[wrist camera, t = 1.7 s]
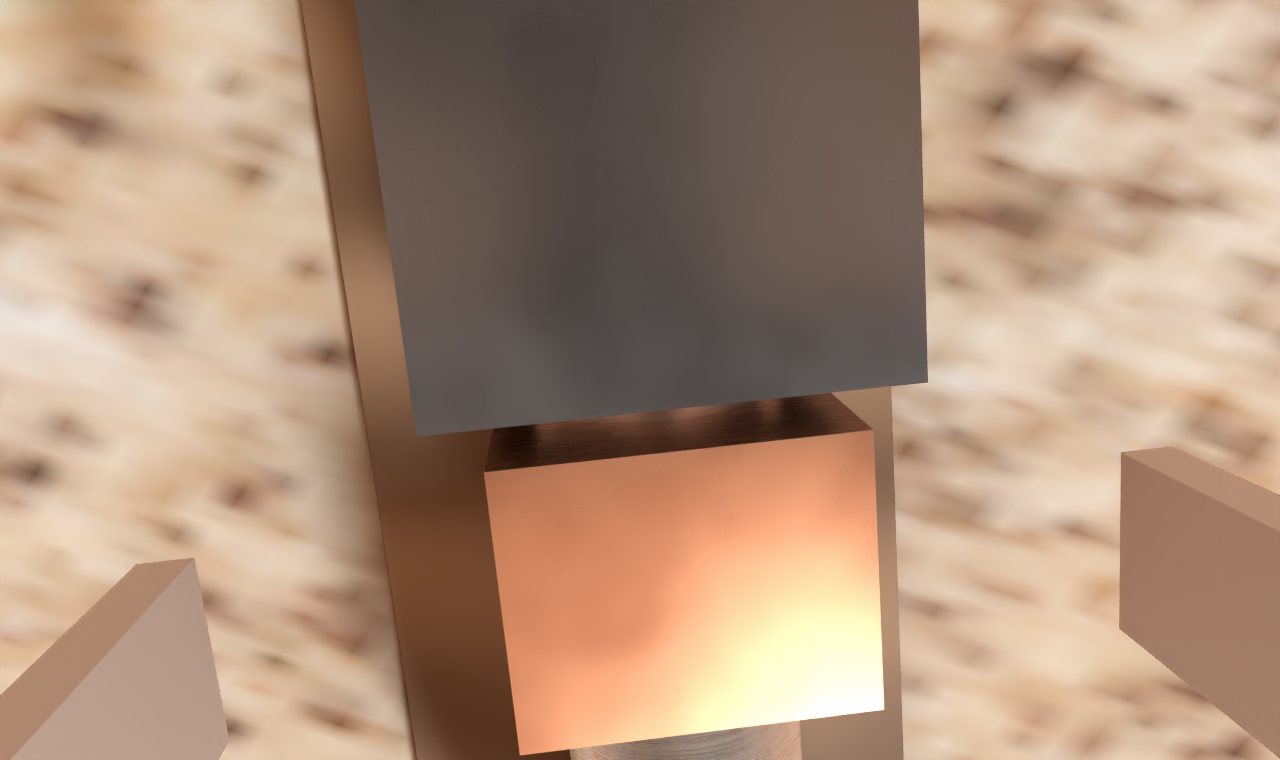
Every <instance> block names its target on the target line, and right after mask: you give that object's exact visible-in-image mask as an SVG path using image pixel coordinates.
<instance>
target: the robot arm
mask: <svg viewBox="0 0 1280 760" xmlns="http://www.w3.org/2000/svg"><path fill="white" fill-rule="evenodd" d="M1119 629H1121V630H1122V631H1123V632H1124V633H1125V634H1127V635H1128V636H1129V637H1130V638H1132V639H1133V640H1134V641H1135V642H1137V643H1138V644H1139V645H1140V646H1142V647H1143V648H1144V649H1145V650H1147V651H1148V652H1149V653H1150V654H1151V655H1153V656H1154V657H1155V658H1156V659H1158V660H1159V661H1160V662H1161V663H1163V664H1164V665H1165V666H1166V667H1168V668H1169V669H1170V670H1171V671H1172V672H1174V673H1175V674H1176V675H1177V676H1179V677H1180V678H1181V679H1182V680H1184V681H1185V682H1186V683H1187V684H1189V685H1190V686H1191V687H1192V688H1194V689H1195V690H1196V691H1197V692H1198V693H1200V694H1201V695H1202V696H1203V697H1205V698H1206V699H1207V700H1208V701H1210V702H1211V703H1212V704H1213V705H1215V706H1216V707H1217V708H1218V709H1219V710H1221V711H1222V712H1223V713H1224V714H1226V715H1227V716H1228V717H1229V718H1231V719H1232V720H1233V721H1234V722H1236V723H1237V724H1238V725H1239V726H1241V727H1242V728H1243V729H1244V730H1245V731H1247V732H1248V733H1249V734H1250V735H1252V736H1253V737H1254V738H1255V739H1257V740H1258V741H1259V742H1260V743H1262V744H1263V745H1264V746H1265V747H1266V748H1268V749H1269V750H1270V751H1271V752H1273V753H1274V754H1275V755H1276V756H1278V757H1279V758H1280V495H1278V494H1276V493H1274V492H1272V491H1269V490H1267V489H1265V488H1263V487H1260V486H1258V485H1256V484H1254V483H1252V482H1249V481H1247V480H1245V479H1243V478H1240V477H1238V476H1236V475H1234V474H1231V473H1229V472H1227V471H1225V470H1223V469H1220V468H1218V467H1216V466H1214V465H1211V464H1209V463H1207V462H1205V461H1202V460H1200V459H1198V458H1196V457H1194V456H1191V455H1189V454H1187V453H1185V452H1182V451H1180V450H1178V449H1176V448H1174V447H1165V448H1156V449H1148V450H1139V451H1130V452H1121V514H1120V619H1119ZM228 741H229V737H228V732H227V727H226V721H225V716H224V711H223V706H222V701H221V695H220V690H219V685H218V680H217V674H216V669H215V664H214V659H213V653H212V648H211V643H210V638H209V633H208V627H207V622H206V617H205V612H204V606H203V601H202V596H201V591H200V585H199V580H198V575H197V570H196V565H195V559H194V558H188V559H179V560H170V561H162V562H153V563H144V564H136V565H135V566H134V567H133V568H132V569H131V570H130V571H129V572H128V573H127V574H126V575H125V576H124V577H123V578H122V579H121V580H120V581H119V582H118V583H117V584H116V585H115V586H114V587H113V588H111V589H110V590H109V591H108V592H107V593H106V594H105V595H104V596H103V597H102V598H101V599H100V600H99V601H98V602H97V603H96V604H95V605H94V606H93V607H92V608H91V609H90V610H89V611H88V612H87V613H86V614H84V615H83V616H82V617H81V618H80V619H79V620H78V621H77V622H76V623H75V624H74V625H73V626H72V627H71V628H70V629H69V630H68V631H67V632H66V633H65V634H64V635H63V636H62V637H61V638H60V639H58V640H57V641H56V642H55V643H54V644H53V645H52V646H51V647H50V648H49V649H48V650H47V651H46V652H45V653H44V654H43V655H42V656H41V657H40V658H39V659H38V660H37V661H36V662H35V663H34V664H33V665H31V666H30V667H29V668H28V669H27V670H26V671H25V672H24V673H23V674H22V675H21V676H20V677H19V678H18V679H17V680H16V681H15V682H14V683H13V684H12V685H11V686H10V687H9V688H8V689H7V690H6V691H4V692H3V693H2V694H1V695H0V760H218V759H219V757H220V756H221V754H222V752H223V750H224V748H225V747H226V745H227V743H228Z"/></svg>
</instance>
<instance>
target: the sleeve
mask: <svg viewBox="0 0 1280 760" xmlns="http://www.w3.org/2000/svg"><path fill="white" fill-rule="evenodd" d="M354 2H355V9H356V16H357V23H358V30H359V37H360V44H361V51H362V58H363V65H364V72H365V79H366V86H367V93H368V100H369V107H370V114H371V121H372V128H373V135H374V142H375V149H376V157H377V164H378V171H379V178H380V185H381V192H382V199H383V206H384V213H385V220H386V227H387V234H388V241H389V248H390V255H391V262H392V269H393V276H394V283H395V290H396V297H397V304H398V311H399V318H400V325H401V332H402V340H403V347H404V354H405V361H406V368H407V375H408V382H409V389H410V396H411V403H412V410H413V417H414V424H415V431H416V437H418V436H428V435H437V434H447V433H456V432H465V431H475V430H484V429H494V428H503V427H512V426H522V425H531V424H541V423H550V422H560V421H569V420H578V419H588V418H597V417H607V416H616V415H625V414H635V413H644V412H654V411H663V410H672V409H682V408H691V407H701V406H710V405H719V404H729V403H738V402H748V401H757V400H766V399H776V398H785V397H795V396H804V395H814V394H823V393H832V392H842V391H851V390H861V389H870V388H879V387H889V386H898V385H908V384H917V383H926V382H928V371H927V331H926V291H925V251H924V211H923V171H922V132H921V92H920V52H919V12H918V0H354Z"/></svg>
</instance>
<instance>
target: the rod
mask: <svg viewBox="0 0 1280 760" xmlns="http://www.w3.org/2000/svg"><path fill="white" fill-rule="evenodd" d="M484 478H485V486H486V494H487V501H488V509H489V517H490V525H491V533H492V541H493V548H494V556H495V564H496V572H497V580H498V587H499V595H500V603H501V611H502V619H503V627H504V634H505V642H506V650H507V658H508V666H509V674H510V681H511V689H512V697H513V705H514V713H515V721H516V728H517V736H518V744H519V752H520V755H527V754H535V753H543V752H551V751H559V750H567V749H570V757H571V760H802V751H801V733H800V720H805V719H813V718H821V717H829V716H837V715H845V714H853V713H861V712H869V711H876V710H884V693H883V667H882V640H881V614H880V587H879V561H878V534H877V508H876V481H875V455H874V430H873V429H872V428H871V427H870V426H868V425H867V424H866V423H865V422H864V421H863V420H862V419H860V418H859V417H858V416H857V415H856V414H855V413H854V412H852V411H851V410H850V409H849V408H848V407H847V406H846V405H844V404H843V403H842V402H841V401H840V400H839V399H837V398H836V397H835V396H834V395H833V394H832V393H823V394H814V395H804V396H795V397H785V398H776V399H766V400H757V401H748V402H738V403H729V404H719V405H710V406H701V407H691V408H682V409H672V410H663V411H654V412H644V413H635V414H625V415H616V416H607V417H597V418H588V419H578V420H569V421H560V422H550V423H541V424H531V425H522V426H512V427H503V428H494V429H493V431H492V436H491V441H490V445H489V450H488V455H487V460H486V464H485V469H484Z"/></svg>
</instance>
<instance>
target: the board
mask: <svg viewBox="0 0 1280 760" xmlns="http://www.w3.org/2000/svg"><path fill="white" fill-rule="evenodd" d="M301 4H302V11H303V17H304V24H305V30H306V37H307V43H308V50H309V56H310V63H311V69H312V76H313V83H314V89H315V96H316V102H317V109H318V115H319V122H320V128H321V135H322V141H323V148H324V154H325V161H326V167H327V174H328V180H329V187H330V194H331V200H332V207H333V213H334V220H335V226H336V233H337V239H338V246H339V252H340V259H341V265H342V272H343V278H344V285H345V291H346V298H347V305H348V311H349V318H350V324H351V331H352V337H353V344H354V350H355V357H356V363H357V370H358V376H359V383H360V389H361V396H362V402H363V409H364V416H365V422H366V429H367V435H368V442H369V448H370V455H371V461H372V468H373V474H374V481H375V487H376V494H377V500H378V507H379V513H380V520H381V527H382V533H383V540H384V546H385V553H386V559H387V566H388V572H389V579H390V585H391V592H392V598H393V605H394V611H395V618H396V624H397V631H398V638H399V644H400V651H401V657H402V664H403V670H404V677H405V683H406V690H407V696H408V703H409V709H410V716H411V722H412V729H413V735H414V742H415V749H416V755H417V760H571V757H570V749H567V750H559V751H551V752H543V753H535V754H527V755H520V752H519V744H518V736H517V728H516V721H515V713H514V705H513V697H512V689H511V681H510V674H509V666H508V658H507V650H506V642H505V634H504V627H503V619H502V611H501V603H500V595H499V587H498V580H497V572H496V564H495V556H494V548H493V541H492V533H491V525H490V517H489V509H488V501H487V494H486V486H485V478H484V469H485V464H486V460H487V455H488V450H489V445H490V441H491V436H492V431H493V429H484V430H475V431H465V432H456V433H447V434H437V435H428V436H418V437H416V431H415V424H414V417H413V410H412V403H411V396H410V389H409V382H408V375H407V368H406V361H405V354H404V347H403V340H402V332H401V325H400V318H399V311H398V304H397V297H396V290H395V283H394V276H393V269H392V262H391V255H390V248H389V241H388V234H387V227H386V220H385V213H384V206H383V199H382V192H381V185H380V178H379V171H378V164H377V157H376V149H375V142H374V135H373V128H372V121H371V114H370V107H369V100H368V93H367V86H366V79H365V72H364V65H363V58H362V51H361V44H360V37H359V30H358V23H357V16H356V9H355V2H354V0H301ZM832 394H833V395H834V396H835V397H836V398H837V399H839V400H840V401H841V402H842V403H843V404H844V405H846V406H847V407H848V408H849V409H850V410H851V411H852V412H854V413H855V414H856V415H857V416H858V417H859V418H860V419H862V420H863V421H864V422H865V423H866V424H867V425H868V426H870V427H871V428H872V429H873V430H874V455H875V481H876V508H877V534H878V561H879V587H880V614H881V640H882V667H883V693H884V710H876V711H869V712H861V713H853V714H845V715H837V716H829V717H821V718H813V719H805V720H800V733H801V751H802V760H903V731H902V702H901V672H900V642H899V612H898V582H897V552H896V522H895V492H894V462H893V432H892V403H891V386H889V387H879V388H870V389H861V390H851V391H842V392H832Z"/></svg>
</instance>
